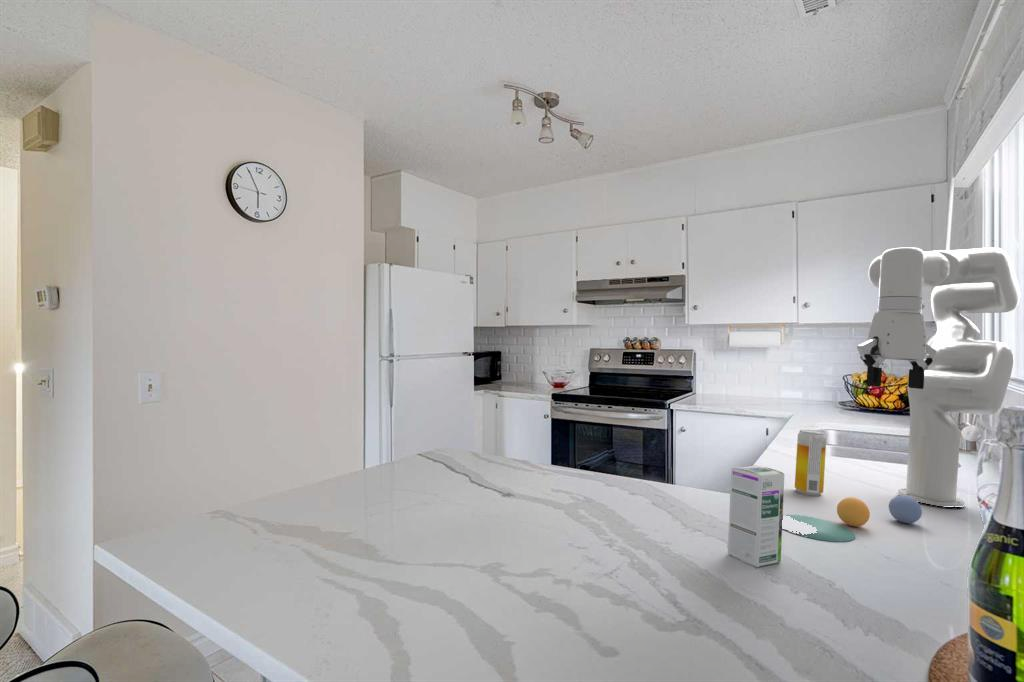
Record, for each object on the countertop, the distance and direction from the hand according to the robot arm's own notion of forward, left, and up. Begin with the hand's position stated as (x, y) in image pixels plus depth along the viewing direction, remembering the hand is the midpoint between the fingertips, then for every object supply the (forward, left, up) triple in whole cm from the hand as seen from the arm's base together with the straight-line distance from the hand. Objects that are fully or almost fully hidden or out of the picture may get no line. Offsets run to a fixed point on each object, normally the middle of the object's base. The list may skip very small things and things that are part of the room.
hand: (894, 387), depth 111 cm
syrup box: (+43, -23, -28) cm, 56 cm away
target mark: (+19, -14, -28) cm, 37 cm away
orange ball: (+12, -7, -25) cm, 29 cm away
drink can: (-11, -14, -28) cm, 33 cm away
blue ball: (+2, +3, -25) cm, 25 cm away
